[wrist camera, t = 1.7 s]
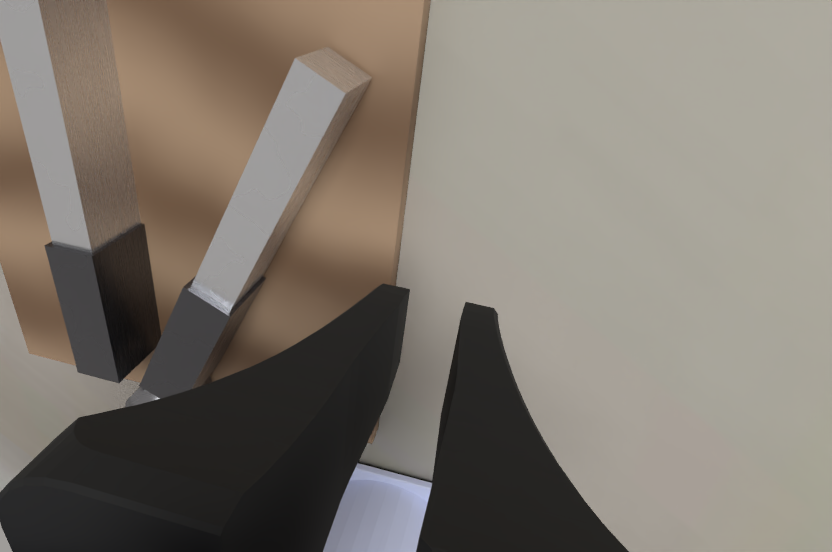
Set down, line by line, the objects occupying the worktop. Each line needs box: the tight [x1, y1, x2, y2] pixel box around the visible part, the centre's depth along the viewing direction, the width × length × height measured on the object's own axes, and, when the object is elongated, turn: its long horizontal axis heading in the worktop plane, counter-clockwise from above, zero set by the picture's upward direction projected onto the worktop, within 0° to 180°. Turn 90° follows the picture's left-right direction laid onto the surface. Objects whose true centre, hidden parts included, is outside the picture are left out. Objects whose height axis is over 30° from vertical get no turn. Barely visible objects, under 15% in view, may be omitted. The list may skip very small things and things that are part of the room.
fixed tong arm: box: [0, 0, 161, 383], centre depth 20 cm, size 15×2×3 cm, turn 173°
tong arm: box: [125, 47, 372, 407], centre depth 20 cm, size 18×2×3 cm, turn 148°
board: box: [0, 0, 431, 444], centre depth 22 cm, size 19×18×1 cm
